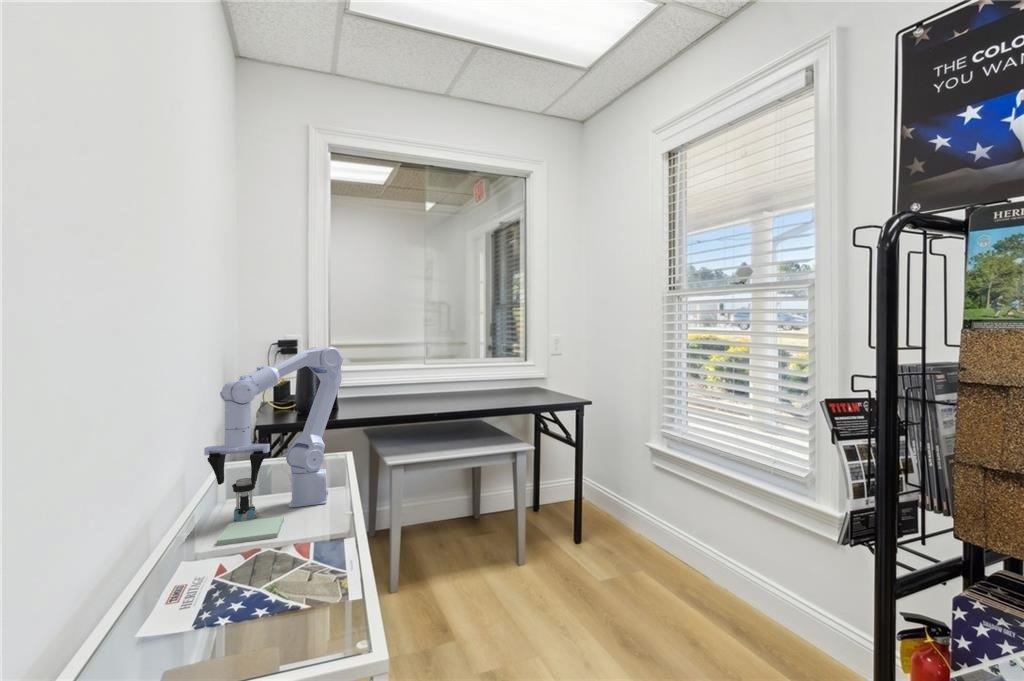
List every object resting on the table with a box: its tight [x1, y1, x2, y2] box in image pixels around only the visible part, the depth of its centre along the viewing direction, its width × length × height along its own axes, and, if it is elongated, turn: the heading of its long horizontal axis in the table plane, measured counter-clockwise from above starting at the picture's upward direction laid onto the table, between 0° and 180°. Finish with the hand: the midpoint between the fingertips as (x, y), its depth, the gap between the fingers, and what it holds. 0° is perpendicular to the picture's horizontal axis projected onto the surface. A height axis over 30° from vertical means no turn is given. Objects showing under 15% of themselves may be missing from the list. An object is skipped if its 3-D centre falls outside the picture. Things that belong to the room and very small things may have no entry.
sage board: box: [216, 516, 285, 546], centre depth 116 cm, size 12×12×1 cm
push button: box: [231, 477, 263, 523], centre depth 125 cm, size 7×5×10 cm
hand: (237, 482), depth 123 cm, fingers open, 7 cm apart
